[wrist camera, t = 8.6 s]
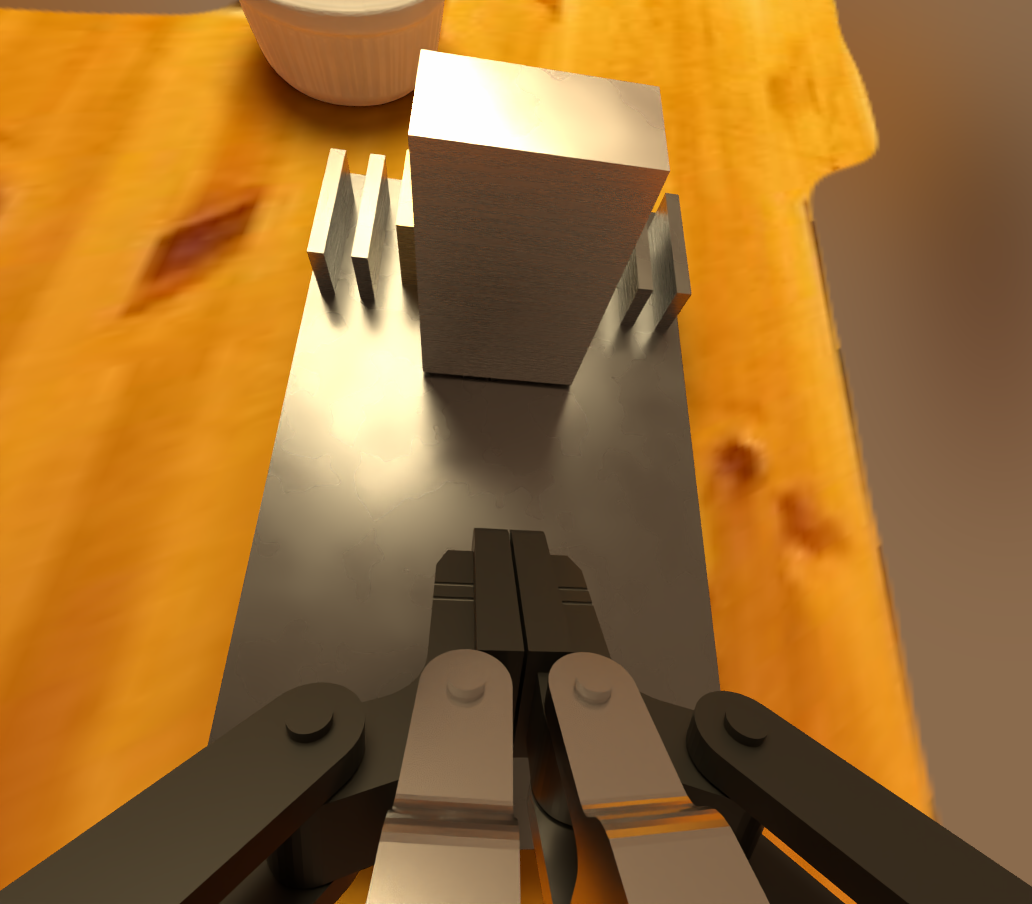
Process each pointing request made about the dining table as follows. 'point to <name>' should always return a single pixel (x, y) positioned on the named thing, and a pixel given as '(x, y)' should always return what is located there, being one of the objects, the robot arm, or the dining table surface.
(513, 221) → the metal angle bracket
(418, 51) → the ramekin
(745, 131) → the dining table surface
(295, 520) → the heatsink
